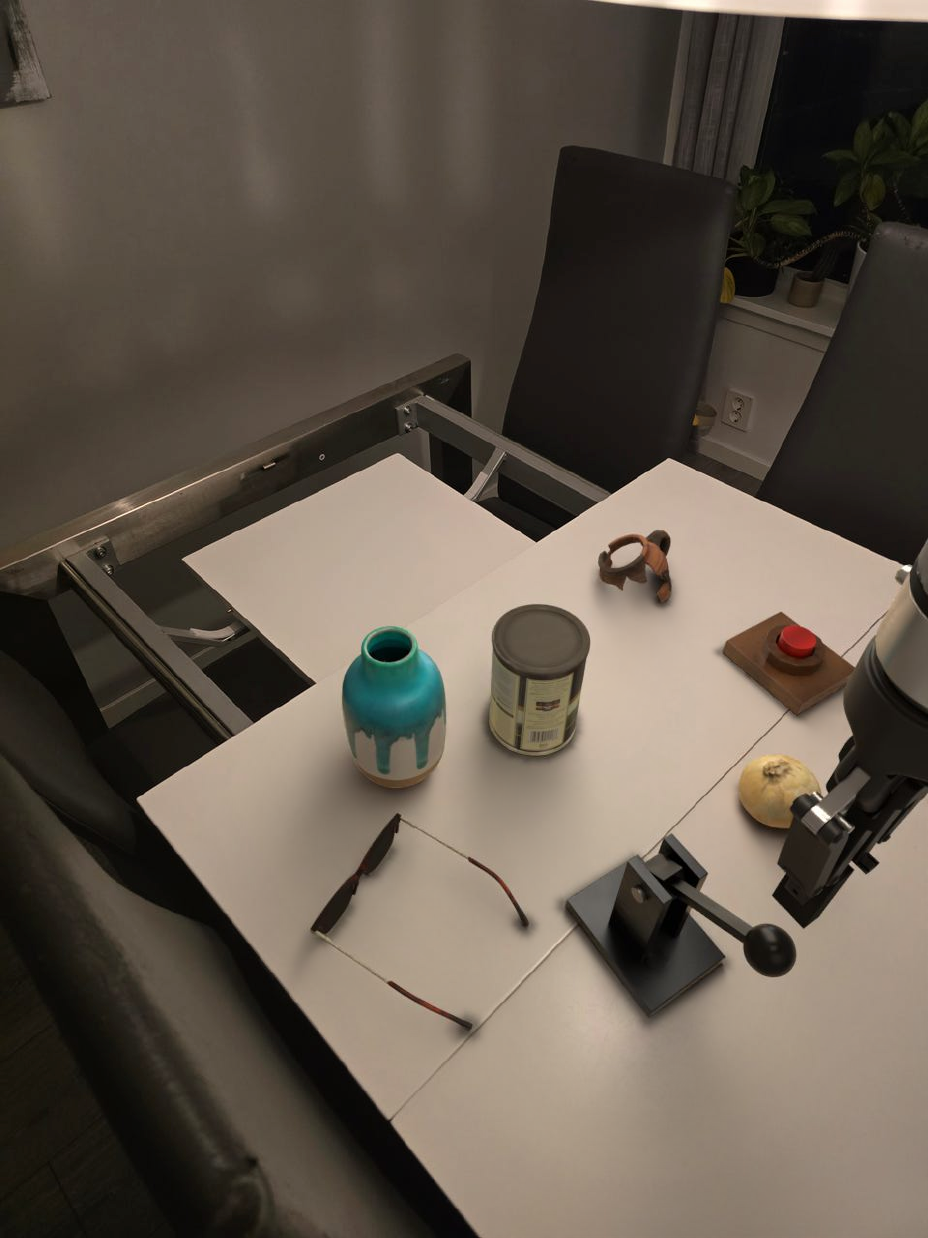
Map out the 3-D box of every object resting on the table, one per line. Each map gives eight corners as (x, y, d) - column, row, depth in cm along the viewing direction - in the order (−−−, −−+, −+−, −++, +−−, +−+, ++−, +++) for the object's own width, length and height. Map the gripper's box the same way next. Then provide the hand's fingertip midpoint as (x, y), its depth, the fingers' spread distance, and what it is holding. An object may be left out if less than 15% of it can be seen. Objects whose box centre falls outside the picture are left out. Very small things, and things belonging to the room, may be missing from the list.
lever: (809, 969, 56) (805, 931, 55) (775, 997, 55) (769, 958, 54) (671, 876, 68) (664, 842, 67) (640, 897, 67) (632, 863, 66)
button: (818, 650, 95) (823, 640, 94) (796, 663, 93) (800, 653, 92) (792, 630, 97) (797, 620, 96) (770, 643, 96) (774, 633, 95)
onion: (775, 765, 87) (794, 726, 82) (827, 822, 82) (851, 784, 77) (718, 791, 85) (734, 752, 80) (767, 851, 80) (788, 814, 75)
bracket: (722, 962, 72) (761, 898, 63) (649, 1018, 68) (678, 958, 59) (635, 860, 79) (658, 789, 70) (565, 906, 76) (579, 837, 67)
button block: (851, 681, 96) (863, 659, 93) (796, 715, 92) (807, 693, 90) (776, 622, 103) (785, 600, 101) (722, 652, 100) (729, 630, 97)
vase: (342, 738, 90) (322, 619, 76) (431, 715, 92) (427, 596, 78) (363, 815, 82) (345, 700, 69) (459, 789, 85) (460, 672, 71)
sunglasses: (397, 834, 81) (397, 809, 77) (534, 916, 76) (541, 894, 72) (313, 949, 72) (308, 927, 69) (461, 1050, 67) (465, 1032, 64)
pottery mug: (659, 621, 104) (635, 578, 100) (602, 613, 111) (578, 572, 107) (698, 557, 109) (678, 513, 104) (642, 553, 116) (620, 512, 111)
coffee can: (538, 674, 97) (548, 590, 87) (594, 729, 91) (611, 646, 81) (470, 711, 92) (472, 627, 83) (524, 772, 86) (532, 689, 77)
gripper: (966, 574, 40) (815, 817, 57) (793, 676, 35) (683, 910, 52) (1117, 668, 36) (905, 902, 52) (943, 800, 31) (770, 1012, 47)
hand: (795, 906), depth 52 cm, fingers closed
